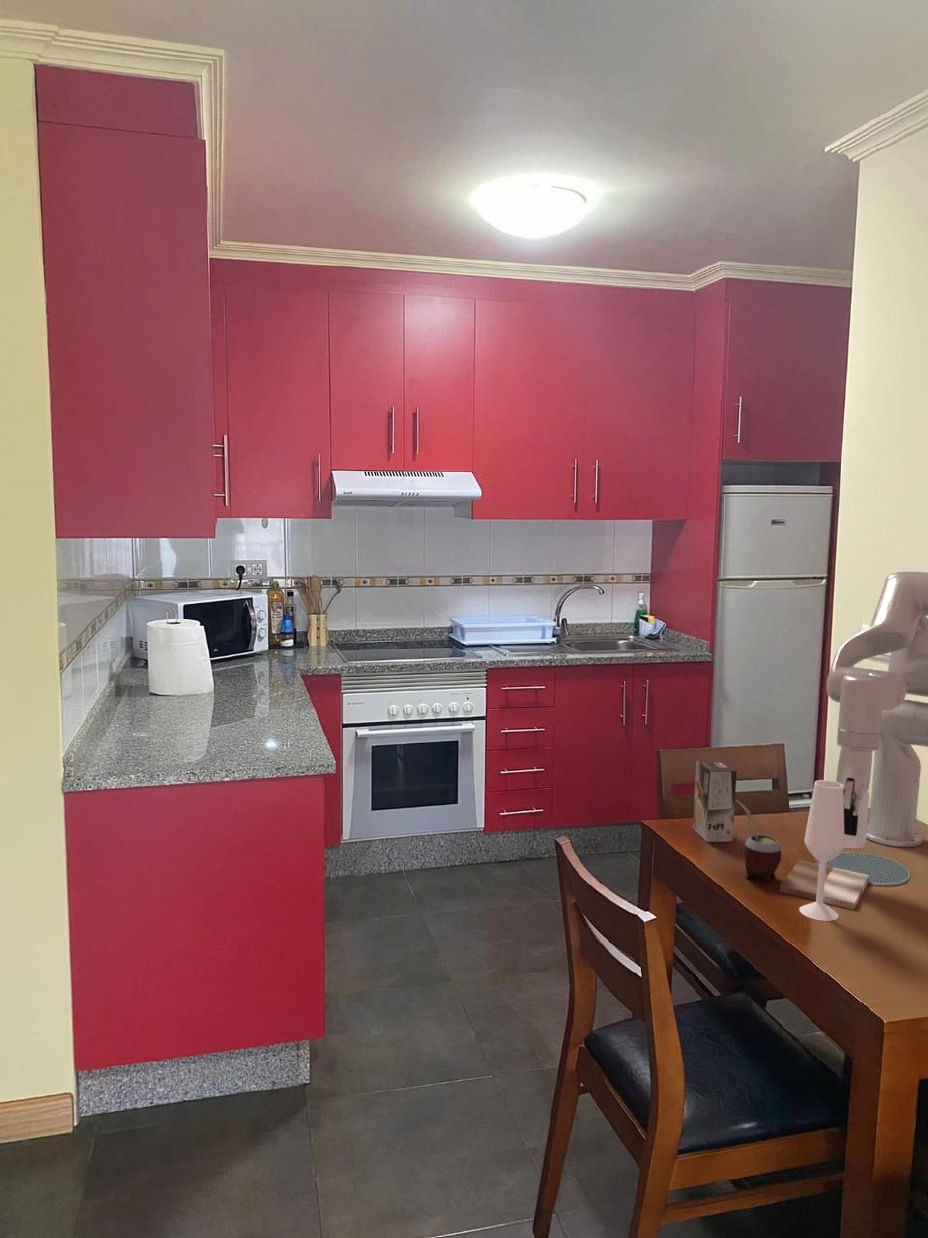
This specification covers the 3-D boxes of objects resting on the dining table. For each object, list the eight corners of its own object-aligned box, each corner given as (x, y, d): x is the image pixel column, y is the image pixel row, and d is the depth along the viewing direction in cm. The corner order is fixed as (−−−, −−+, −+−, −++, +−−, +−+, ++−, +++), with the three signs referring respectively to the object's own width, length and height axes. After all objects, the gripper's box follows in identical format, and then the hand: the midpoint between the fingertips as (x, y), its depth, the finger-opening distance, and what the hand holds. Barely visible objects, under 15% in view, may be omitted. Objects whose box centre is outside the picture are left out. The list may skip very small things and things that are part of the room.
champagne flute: (845, 914, 163) (856, 785, 160) (826, 924, 159) (837, 792, 156) (811, 901, 168) (821, 776, 165) (791, 910, 164) (801, 782, 161)
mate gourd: (786, 884, 176) (792, 809, 174) (749, 886, 174) (754, 811, 173) (765, 869, 183) (770, 797, 181) (730, 871, 182) (735, 799, 180)
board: (799, 865, 186) (799, 859, 186) (868, 881, 179) (869, 875, 179) (779, 891, 172) (780, 885, 172) (853, 909, 165) (854, 903, 165)
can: (860, 852, 172) (865, 791, 170) (825, 844, 175) (829, 784, 174) (869, 843, 177) (873, 784, 175) (834, 836, 181) (839, 777, 179)
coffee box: (733, 842, 198) (738, 771, 196) (705, 842, 197) (710, 771, 195) (717, 827, 207) (722, 759, 205) (690, 828, 206) (695, 759, 204)
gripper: (845, 727, 183) (838, 814, 185) (828, 744, 168) (821, 837, 170) (886, 733, 179) (878, 821, 181) (872, 751, 164) (863, 846, 166)
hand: (850, 828), depth 176 cm, fingers closed on can, 6 cm apart
